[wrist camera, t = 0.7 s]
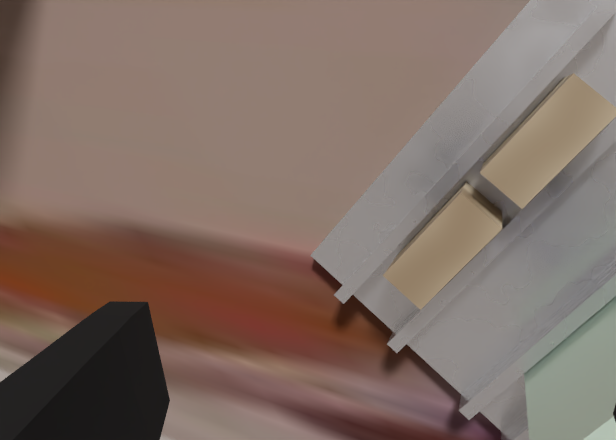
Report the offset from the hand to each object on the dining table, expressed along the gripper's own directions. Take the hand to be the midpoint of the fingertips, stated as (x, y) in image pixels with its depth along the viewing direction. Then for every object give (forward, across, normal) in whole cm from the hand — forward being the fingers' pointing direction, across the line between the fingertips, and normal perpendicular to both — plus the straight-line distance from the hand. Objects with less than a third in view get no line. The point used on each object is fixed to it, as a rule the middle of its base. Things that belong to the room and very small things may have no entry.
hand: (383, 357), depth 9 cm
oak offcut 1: (+16, -3, +7) cm, 17 cm away
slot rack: (+16, -8, +7) cm, 19 cm away
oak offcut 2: (+16, -7, +2) cm, 18 cm away
